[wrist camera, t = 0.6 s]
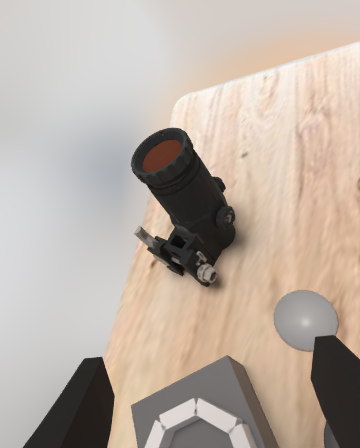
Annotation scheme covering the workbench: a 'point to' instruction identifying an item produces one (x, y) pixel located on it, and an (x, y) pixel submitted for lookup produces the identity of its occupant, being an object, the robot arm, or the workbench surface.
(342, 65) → the workbench surface
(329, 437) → the lens
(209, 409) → the camera body
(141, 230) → the scope
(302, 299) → the grey domed disc
